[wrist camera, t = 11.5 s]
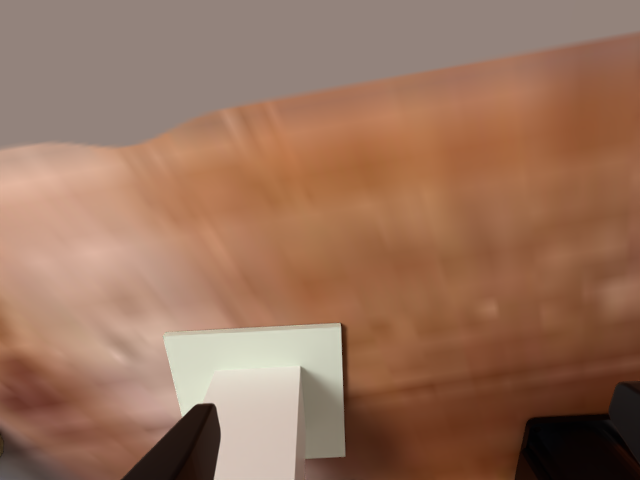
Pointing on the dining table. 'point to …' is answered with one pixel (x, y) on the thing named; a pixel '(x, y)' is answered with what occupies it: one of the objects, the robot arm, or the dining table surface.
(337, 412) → the mat
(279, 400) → the plug
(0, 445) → the olive green tapered block
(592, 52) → the dining table surface
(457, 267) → the dining table surface
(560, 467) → the robot arm
